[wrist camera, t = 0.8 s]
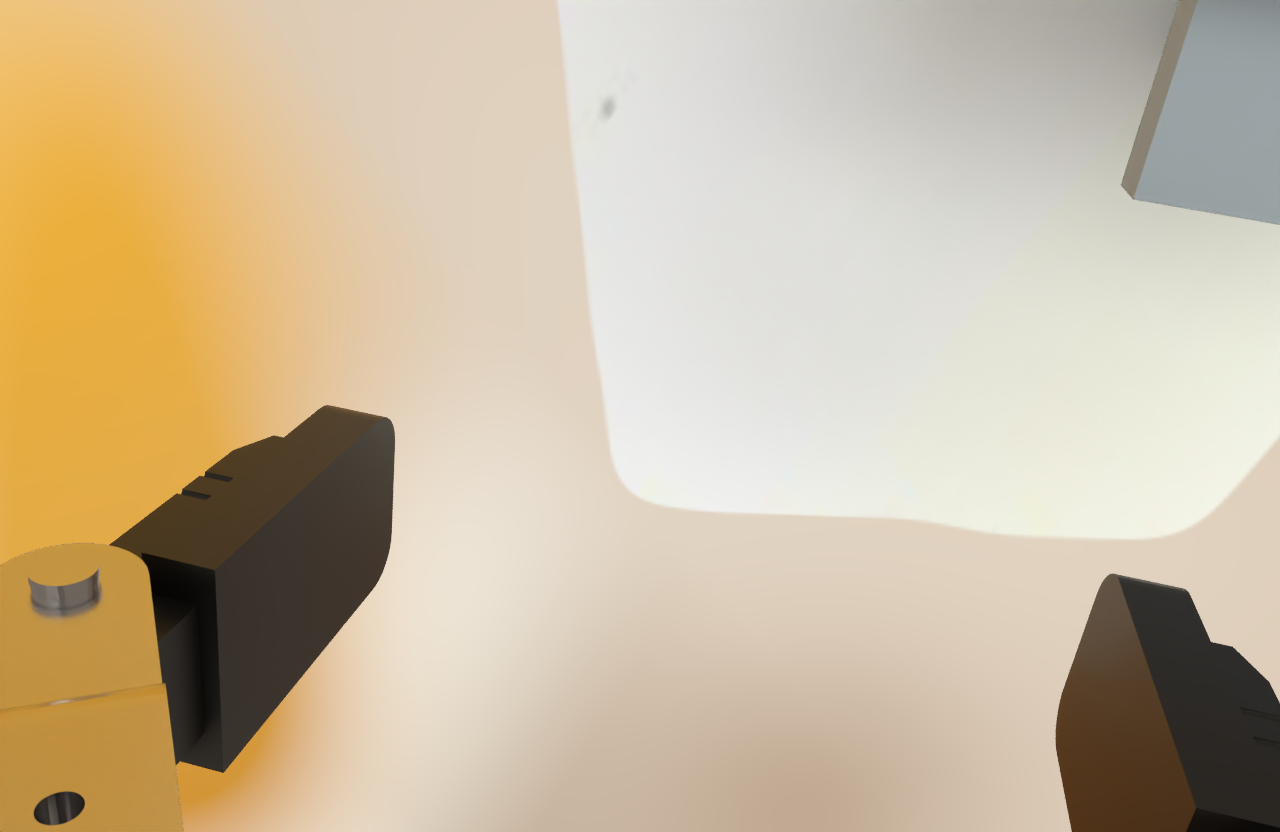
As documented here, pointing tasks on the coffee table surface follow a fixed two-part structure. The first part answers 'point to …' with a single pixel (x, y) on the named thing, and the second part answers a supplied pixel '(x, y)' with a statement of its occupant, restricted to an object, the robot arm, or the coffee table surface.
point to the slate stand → (1214, 113)
